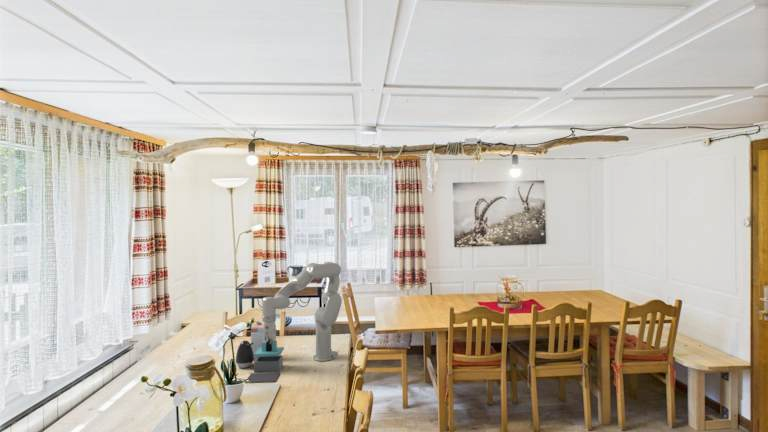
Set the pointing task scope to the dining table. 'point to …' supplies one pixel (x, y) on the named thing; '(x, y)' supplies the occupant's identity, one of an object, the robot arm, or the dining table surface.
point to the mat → (263, 377)
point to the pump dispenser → (244, 355)
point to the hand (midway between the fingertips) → (269, 349)
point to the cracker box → (257, 338)
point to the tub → (268, 364)
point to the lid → (275, 351)
